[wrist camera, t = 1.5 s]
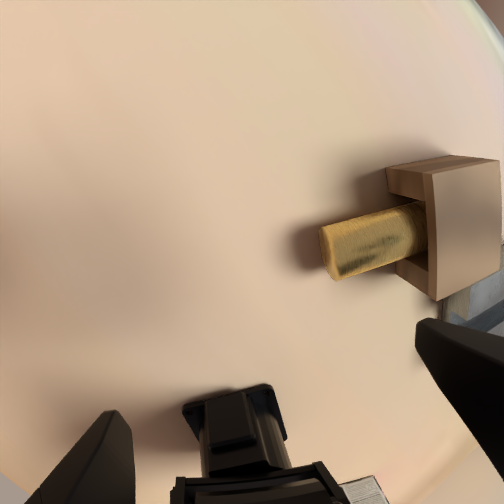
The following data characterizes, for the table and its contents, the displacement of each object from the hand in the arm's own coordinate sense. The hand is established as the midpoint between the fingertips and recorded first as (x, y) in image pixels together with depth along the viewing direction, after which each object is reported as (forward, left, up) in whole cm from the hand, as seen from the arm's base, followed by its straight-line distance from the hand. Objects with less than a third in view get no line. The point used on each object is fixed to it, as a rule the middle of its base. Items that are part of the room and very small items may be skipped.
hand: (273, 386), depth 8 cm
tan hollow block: (0, -13, -10) cm, 16 cm away
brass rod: (0, -10, -10) cm, 15 cm away
